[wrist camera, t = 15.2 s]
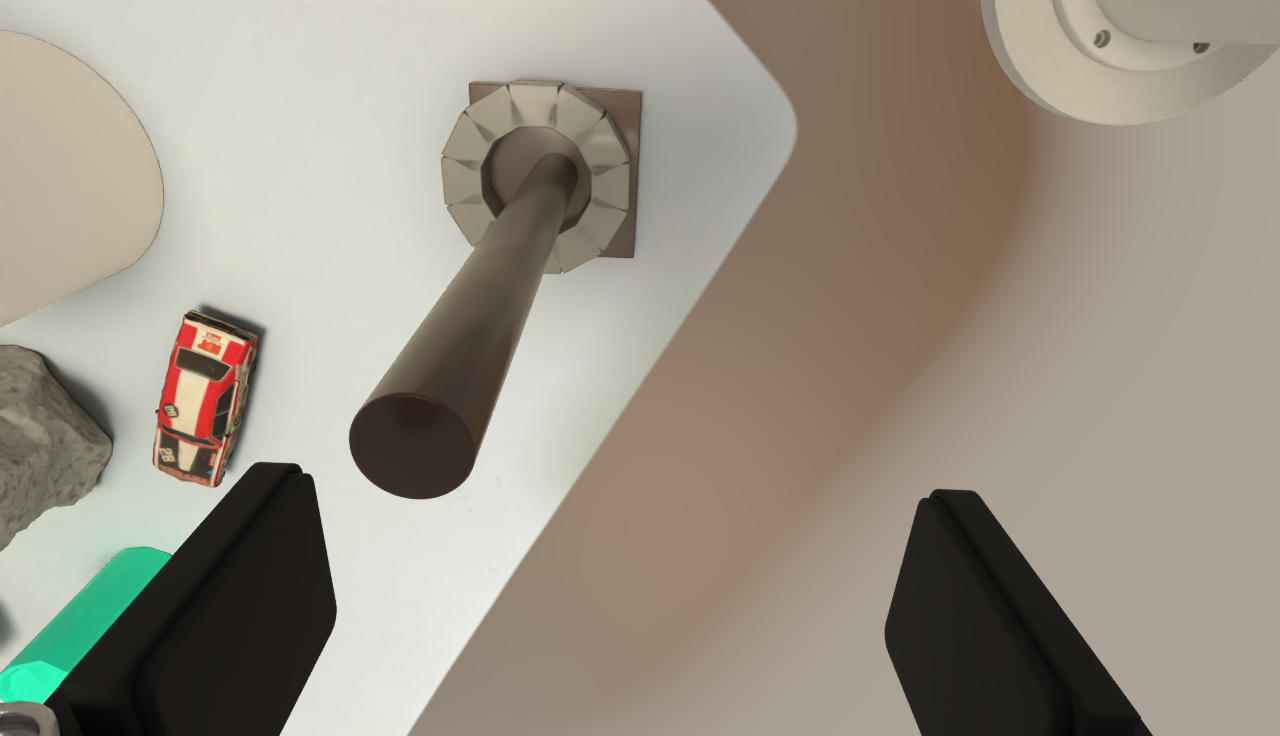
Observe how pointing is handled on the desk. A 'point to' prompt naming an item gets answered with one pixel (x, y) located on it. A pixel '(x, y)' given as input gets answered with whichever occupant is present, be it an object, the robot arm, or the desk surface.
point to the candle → (79, 626)
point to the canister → (67, 178)
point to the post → (484, 310)
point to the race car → (203, 399)
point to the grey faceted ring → (570, 119)
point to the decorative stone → (42, 443)
